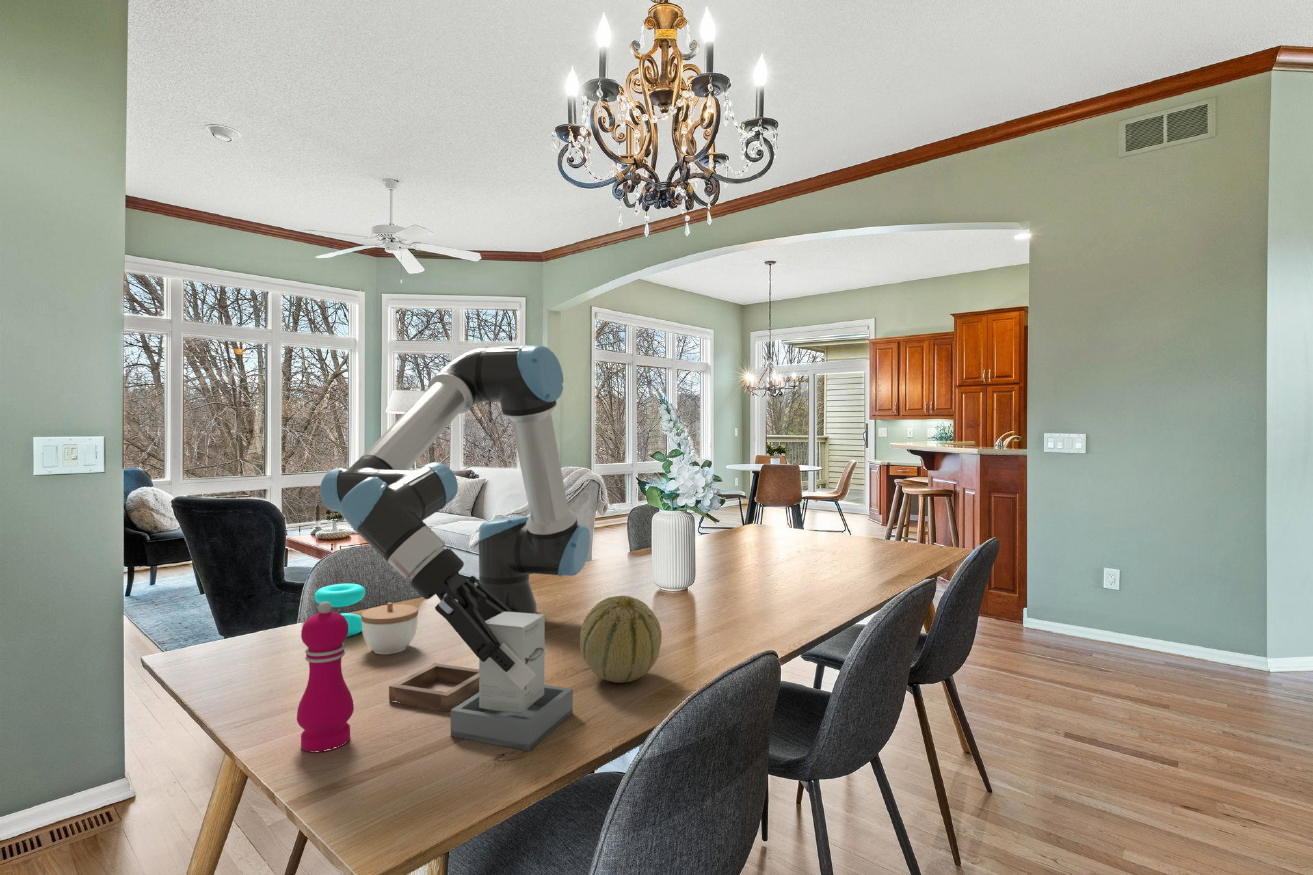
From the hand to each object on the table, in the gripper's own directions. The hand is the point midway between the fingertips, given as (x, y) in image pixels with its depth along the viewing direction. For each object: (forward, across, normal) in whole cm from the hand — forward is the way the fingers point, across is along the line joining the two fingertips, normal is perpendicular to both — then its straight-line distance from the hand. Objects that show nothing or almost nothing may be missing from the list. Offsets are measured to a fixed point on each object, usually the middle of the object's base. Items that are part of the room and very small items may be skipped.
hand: (534, 670), depth 99 cm
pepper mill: (-14, +6, -26) cm, 30 cm away
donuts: (-30, -45, -42) cm, 68 cm away
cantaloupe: (+14, -18, +2) cm, 23 cm away
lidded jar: (-19, -34, -31) cm, 50 cm away
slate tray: (+4, 0, -8) cm, 9 cm away
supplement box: (+1, 0, -6) cm, 6 cm away
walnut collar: (-7, -12, -18) cm, 23 cm away
